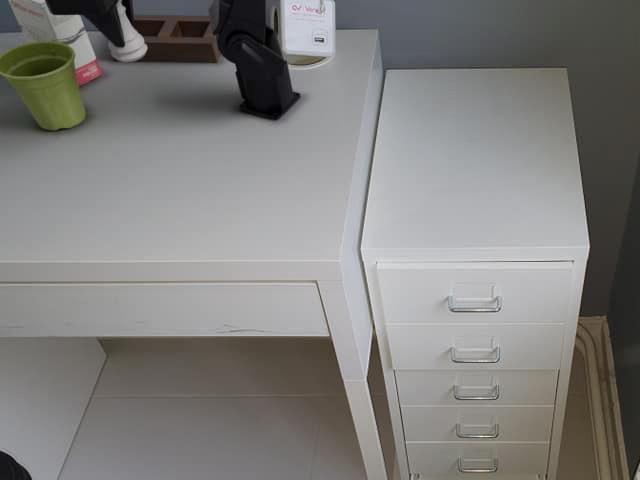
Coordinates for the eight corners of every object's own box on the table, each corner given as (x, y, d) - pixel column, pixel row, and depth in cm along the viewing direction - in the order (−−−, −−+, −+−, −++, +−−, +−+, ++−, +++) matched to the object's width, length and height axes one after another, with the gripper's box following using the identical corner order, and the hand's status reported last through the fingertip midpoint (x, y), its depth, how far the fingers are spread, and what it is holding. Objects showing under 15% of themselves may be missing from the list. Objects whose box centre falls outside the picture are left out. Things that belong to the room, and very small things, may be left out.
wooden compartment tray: (217, 62, 110) (212, 43, 108) (114, 61, 110) (106, 41, 107) (229, 34, 115) (224, 15, 113) (131, 33, 115) (124, 14, 113)
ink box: (105, 74, 107) (72, -9, 98) (77, 89, 105) (40, 5, 95) (67, 57, 110) (31, -25, 101) (38, 72, 107) (-2, -12, 98)
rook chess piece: (139, 65, 91) (114, 1, 84) (105, 61, 91) (78, -3, 85) (154, 45, 93) (131, -18, 87) (122, 42, 94) (96, -21, 87)
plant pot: (60, 94, 104) (32, 34, 97) (114, 109, 102) (89, 49, 95) (10, 128, 98) (-23, 67, 91) (66, 145, 96) (36, 84, 89)
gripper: (124, -68, 73) (173, 77, 85) (168, -133, 85) (206, 3, 97) (11, -68, 73) (76, 78, 85) (71, -133, 85) (121, 3, 97)
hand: (125, 38), depth 91 cm, fingers closed on rook chess piece, 4 cm apart
